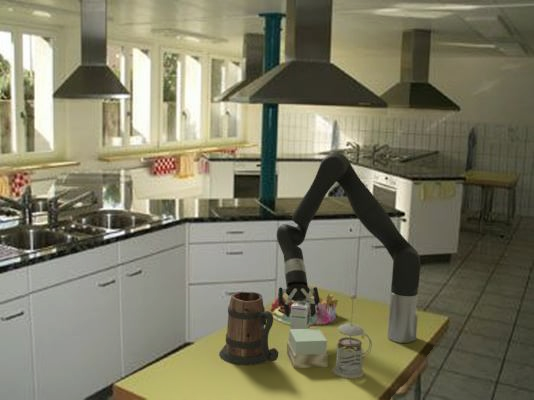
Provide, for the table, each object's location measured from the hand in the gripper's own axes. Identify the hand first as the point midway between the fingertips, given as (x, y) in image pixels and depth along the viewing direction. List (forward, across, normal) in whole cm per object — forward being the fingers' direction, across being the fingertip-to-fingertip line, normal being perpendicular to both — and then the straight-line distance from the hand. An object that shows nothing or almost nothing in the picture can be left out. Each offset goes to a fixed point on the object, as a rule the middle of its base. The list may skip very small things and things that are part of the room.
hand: (300, 316), depth 198 cm
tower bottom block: (+16, 0, -1) cm, 16 cm away
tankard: (+14, -18, +1) cm, 23 cm away
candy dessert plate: (-12, +8, +27) cm, 31 cm away
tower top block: (+13, 0, -4) cm, 14 cm away
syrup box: (+7, 0, +8) cm, 11 cm away
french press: (+22, +12, -7) cm, 26 cm away
